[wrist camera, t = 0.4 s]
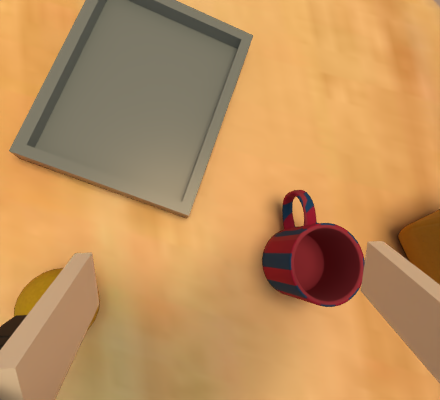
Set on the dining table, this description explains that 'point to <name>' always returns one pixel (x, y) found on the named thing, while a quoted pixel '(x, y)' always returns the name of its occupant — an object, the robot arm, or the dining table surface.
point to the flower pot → (423, 244)
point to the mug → (313, 258)
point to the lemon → (38, 293)
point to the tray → (136, 100)
